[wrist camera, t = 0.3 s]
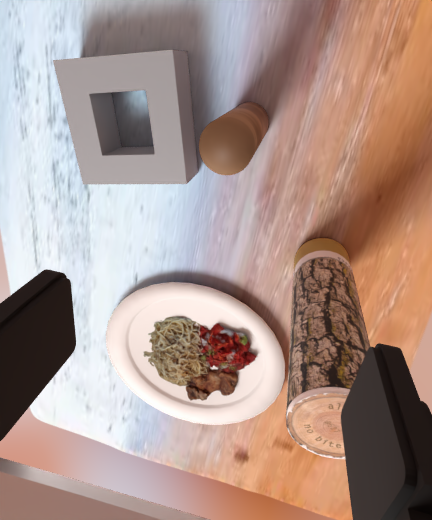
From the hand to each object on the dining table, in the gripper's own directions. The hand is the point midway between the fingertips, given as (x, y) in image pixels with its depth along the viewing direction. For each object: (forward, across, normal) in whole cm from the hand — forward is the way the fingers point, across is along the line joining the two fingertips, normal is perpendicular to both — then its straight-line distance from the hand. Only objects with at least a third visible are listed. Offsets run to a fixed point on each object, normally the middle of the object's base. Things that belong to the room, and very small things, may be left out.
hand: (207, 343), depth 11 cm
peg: (+34, +3, -2) cm, 34 cm away
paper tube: (+35, -9, +13) cm, 38 cm away
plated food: (+36, +6, +35) cm, 50 cm away
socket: (+34, +16, -1) cm, 38 cm away
